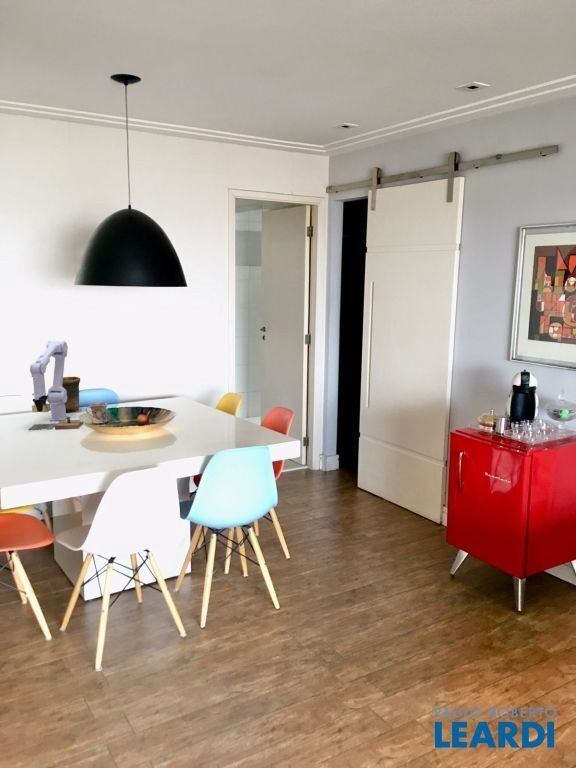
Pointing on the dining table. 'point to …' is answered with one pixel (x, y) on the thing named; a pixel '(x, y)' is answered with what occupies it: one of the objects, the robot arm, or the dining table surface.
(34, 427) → the mat
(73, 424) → the peg stand
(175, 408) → the dining table surface
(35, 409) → the u link
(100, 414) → the mug
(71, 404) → the vessel
